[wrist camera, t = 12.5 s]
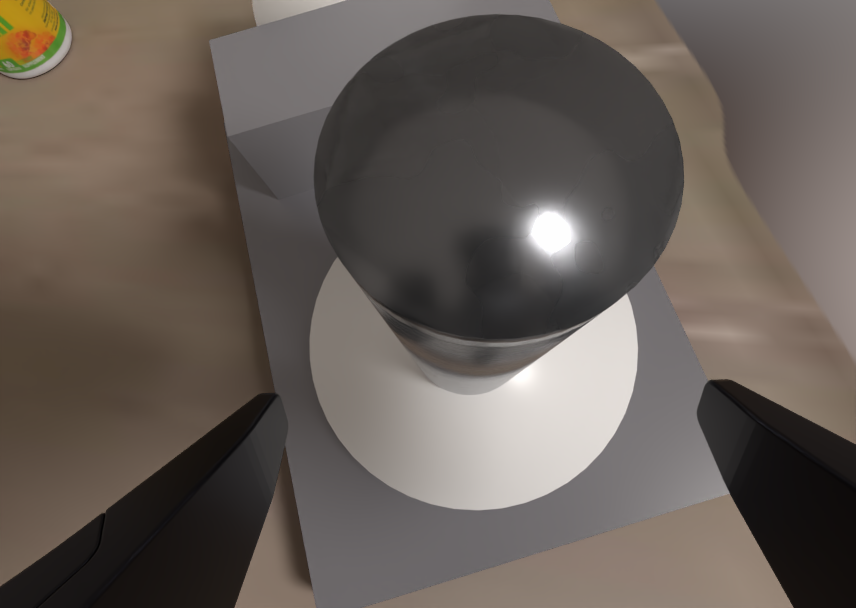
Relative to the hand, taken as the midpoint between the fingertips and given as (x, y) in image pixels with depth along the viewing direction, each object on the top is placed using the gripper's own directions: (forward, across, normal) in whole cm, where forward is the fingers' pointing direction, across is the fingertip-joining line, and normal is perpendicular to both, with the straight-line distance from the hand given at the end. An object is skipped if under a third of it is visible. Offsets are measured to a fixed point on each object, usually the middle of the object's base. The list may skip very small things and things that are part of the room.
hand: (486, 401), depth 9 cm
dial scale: (+12, +1, +4) cm, 13 cm away
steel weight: (+8, 0, +4) cm, 9 cm away
